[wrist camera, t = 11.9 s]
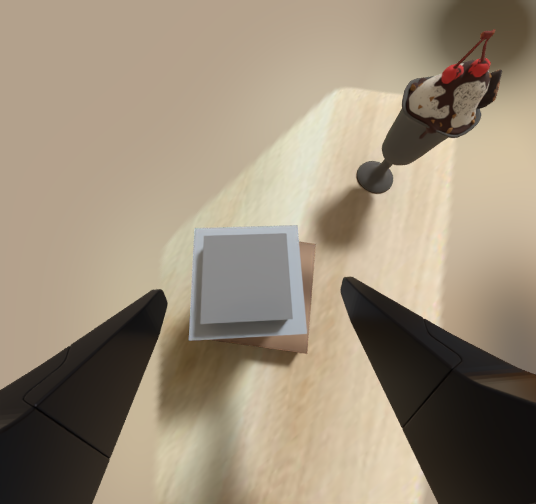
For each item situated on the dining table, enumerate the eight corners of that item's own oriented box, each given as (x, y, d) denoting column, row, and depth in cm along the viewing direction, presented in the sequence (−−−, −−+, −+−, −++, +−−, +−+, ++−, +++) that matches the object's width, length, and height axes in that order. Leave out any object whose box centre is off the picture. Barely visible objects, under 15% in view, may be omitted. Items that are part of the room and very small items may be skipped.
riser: (300, 346, 21) (307, 353, 18) (202, 332, 21) (192, 337, 18) (309, 251, 24) (315, 243, 21) (221, 238, 24) (216, 230, 21)
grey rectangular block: (283, 316, 19) (312, 337, 8) (226, 319, 19) (180, 345, 8) (279, 261, 20) (301, 217, 10) (226, 263, 20) (187, 220, 9)
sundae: (342, 183, 26) (446, 30, 11) (363, 149, 27) (479, -25, 13) (386, 208, 25) (560, 78, 10) (405, 171, 26) (580, 14, 12)
